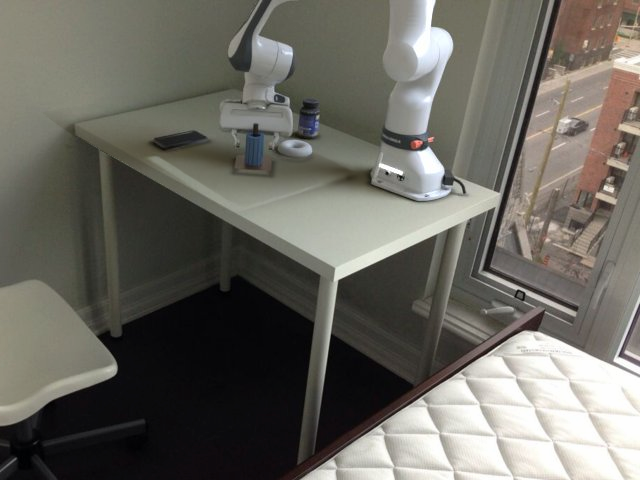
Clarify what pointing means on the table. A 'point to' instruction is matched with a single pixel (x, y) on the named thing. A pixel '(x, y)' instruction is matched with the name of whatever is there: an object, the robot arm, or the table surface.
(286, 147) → the donut
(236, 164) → the dowel stand
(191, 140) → the phone
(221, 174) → the table surface
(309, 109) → the pill bottle
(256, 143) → the tube
